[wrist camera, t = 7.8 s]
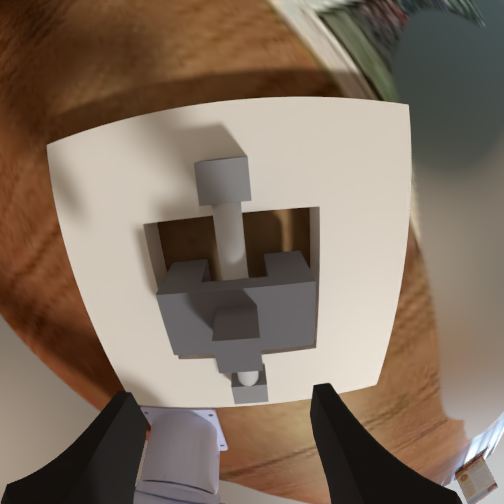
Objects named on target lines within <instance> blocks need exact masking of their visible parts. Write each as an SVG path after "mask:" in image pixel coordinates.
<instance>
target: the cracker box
mask: <svg viewBox="0 0 504 504" xmlns="http://www.w3.org/2000/svg"><path fill="white" fill-rule="evenodd" d="M455 476H456V478H457V481H458V483H459V485H460V487H461V489H462V491H463V494H464V496H465V498H466V501H467V503H468V504H475V503H477V502H478V501H479V500H481V499H483V498H484V497H485V496H487V495H488V494H489V493H491V492H492V491H493V490H495V489H496V488H497V487H498V486H497V484H496V482H495V480H494V478H493V476H492V474H491V472H490V470H489V468H488V466H487V464H486V462H485V460H484V459H483V457H482V455H481V456H480V457H478V458H477V459H476V460H475V461H473V462H472V463H471V464H469V465H468V466H467V467H465V468H464V469H462V470H461V471H459V472H458V473H456V474H455Z"/></svg>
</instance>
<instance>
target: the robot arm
mask: <svg viewBox="0 0 504 504" xmlns="http://www.w3.org/2000/svg"><path fill="white" fill-rule="evenodd" d="M310 418H311V424H312V429H313V435H314V439H315V442H316V445H317V449H318V452H319V455H320V459H321V462H322V465H323V468H324V472H325V475H326V478H327V482H328V487H329V492H330V498H331V504H462V501H461V499H460V498H459V496H458V494H457V493H456V492H455V491H453V490H450V489H448V488H445V487H443V486H441V485H439V484H437V483H435V482H433V481H431V480H429V479H427V478H425V477H423V476H422V475H420V474H419V473H417V472H415V471H414V470H412V469H411V468H409V467H408V466H406V465H405V464H403V463H402V462H401V461H399V460H398V459H397V458H396V457H394V456H393V455H392V454H391V453H390V452H388V451H387V450H386V449H385V448H384V447H383V446H382V445H380V444H379V443H378V442H377V441H376V440H375V439H374V438H373V437H372V436H371V435H370V434H369V433H368V431H367V430H366V429H365V428H364V427H363V426H362V425H361V424H360V422H359V421H358V420H357V419H356V418H355V417H354V415H353V414H352V413H351V412H350V410H349V409H348V408H347V406H346V405H345V404H344V402H343V401H342V400H341V398H340V397H339V395H338V394H337V392H336V391H335V389H334V388H333V386H332V385H331V384H330V383H323V384H317V385H313V392H312V401H311V409H310ZM147 421H148V422H149V424H150V425H151V431H150V435H149V440H148V444H147V449H146V453H145V458H144V463H143V467H142V472H141V478H140V480H138V481H137V486H136V487H135V483H136V478H137V473H138V469H139V464H140V461H141V456H142V452H143V448H144V444H145V438H146V430H147ZM227 449H228V446H227V443H226V440H225V437H224V434H223V432H222V429H221V426H220V423H219V420H218V417H217V414H216V411H215V409H214V408H212V407H161V406H145V405H142V406H141V408H140V407H139V405H138V403H137V402H136V400H135V398H134V396H133V395H132V393H131V392H123V391H118V392H117V394H116V395H115V396H114V397H113V398H112V399H111V401H110V402H109V403H108V404H107V405H106V407H105V408H104V409H103V410H102V411H101V413H100V414H99V415H98V416H97V417H96V419H95V420H94V421H93V422H92V423H91V424H90V426H89V427H88V428H87V429H86V430H85V431H84V432H83V433H82V435H80V437H78V439H77V440H76V441H75V442H74V443H73V444H72V445H71V446H69V447H68V448H67V449H66V450H65V451H64V452H63V453H62V454H60V455H59V456H58V457H57V458H55V459H54V460H52V461H51V462H50V463H48V464H47V465H45V466H44V467H43V468H41V469H39V470H38V471H36V472H34V473H33V474H30V475H28V476H27V477H24V478H22V479H20V480H17V481H15V482H12V483H10V484H7V486H6V489H5V492H4V494H3V497H2V500H1V504H225V503H220V496H219V495H216V493H217V491H218V487H219V455H220V451H224V450H227Z"/></svg>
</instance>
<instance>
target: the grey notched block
mask: <svg viewBox="0 0 504 504" xmlns="http://www.w3.org/2000/svg"><path fill="white" fill-rule="evenodd" d="M264 262H265V276H266V277H258V278H247V279H236V280H224V281H212V282H211V277H210V271H209V265H208V259H202V260H191V261H180V262H173V263H172V265H171V267H170V268H169V270H168V272H167V274H166V276H165V278H164V280H163V282H162V284H161V286H160V287H159V289H158V291H157V293H156V298H157V302H158V305H159V309H160V312H161V316H162V319H163V322H164V326H165V329H166V332H167V335H168V338H169V341H170V345H171V348H172V351H173V354H174V355H202V354H215V357H216V362H217V366H218V370H219V373H236V372H250V371H262V370H263V364H262V353H261V351H262V350H273V349H282V348H290V347H298V346H306V345H313V344H314V325H315V300H316V280H315V278H314V276H313V274H312V272H311V271H310V269H309V267H308V265H307V263H306V261H305V259H304V257H303V255H302V253H301V251H289V252H278V253H268V254H264Z"/></svg>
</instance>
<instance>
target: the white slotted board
mask: <svg viewBox="0 0 504 504" xmlns="http://www.w3.org/2000/svg"><path fill="white" fill-rule="evenodd" d="M47 155H48V163H49V170H50V177H51V183H52V189H53V195H54V200H55V205H56V210H57V214H58V219H59V223H60V227H61V231H62V235H63V239H64V243H65V246H66V250H67V253H68V257H69V260H70V263H71V267H72V270H73V273H74V276H75V279H76V282H77V285H78V288H79V290H80V293H81V296H82V299H83V301H84V304H85V307H86V309H87V312H88V314H89V317H90V319H91V321H92V324H93V326H94V328H95V331H96V333H97V335H98V338H99V340H100V342H101V344H102V346H103V348H104V350H105V353H106V355H107V357H108V359H109V361H110V363H111V365H112V367H113V369H114V371H115V372H116V374H117V376H118V378H119V380H120V382H121V384H122V385H123V387H124V389H125V391H126V392H131V393H132V395H133V396H134V398H135V400H136V402H137V403H138V405H145V406H161V407H234V406H250V405H262V404H273V403H281V402H290V401H297V400H304V399H310V398H312V392H313V385H317V384H323V383H330V384H331V385H332V386H333V388H334V389H335V391H336V392H337V394H338V393H343V392H348V391H352V390H357V389H361V388H365V387H369V386H373V385H376V384H377V381H378V378H379V375H380V372H381V368H382V365H383V361H384V358H385V354H386V351H387V347H388V343H389V339H390V335H391V331H392V327H393V322H394V318H395V313H396V308H397V303H398V298H399V293H400V287H401V281H402V275H403V269H404V262H405V254H406V246H407V237H408V226H409V214H410V196H411V134H410V117H409V105H405V104H399V103H392V102H384V101H375V100H365V99H352V98H335V97H271V98H254V99H241V100H230V101H221V102H213V103H205V104H198V105H191V106H185V107H179V108H174V109H168V110H163V111H158V112H154V113H149V114H145V115H140V116H136V117H132V118H128V119H124V120H120V121H117V122H113V123H109V124H106V125H102V126H99V127H96V128H93V129H90V130H86V131H83V132H80V133H77V134H75V135H72V136H69V137H66V138H63V139H61V140H58V141H55V142H53V143H50V144H48V145H47ZM303 207H309V214H310V271H311V272H312V274H313V276H314V278H315V280H316V300H315V325H314V344H313V345H306V346H298V347H290V348H282V349H273V350H262V351H261V353H262V364H263V370H262V371H250V372H236V373H219V370H218V366H217V362H216V357H215V354H202V355H174V354H173V351H172V348H171V345H170V341H169V338H168V335H167V332H166V329H165V326H164V322H163V319H162V316H161V312H160V309H159V305H158V302H157V298H156V293H157V291H158V289H159V287H160V286H161V284H162V282H163V280H164V278H165V276H166V274H167V269H166V265H165V260H164V256H163V251H162V246H161V241H160V236H159V231H158V225H157V222H162V221H170V220H178V219H187V218H196V217H204V216H213V219H214V227H215V234H216V242H217V249H218V256H219V263H220V270H221V277H222V281H224V280H236V279H247V278H248V269H247V259H246V249H245V239H244V229H243V219H242V213H243V212H254V211H265V210H277V209H290V208H303Z"/></svg>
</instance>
